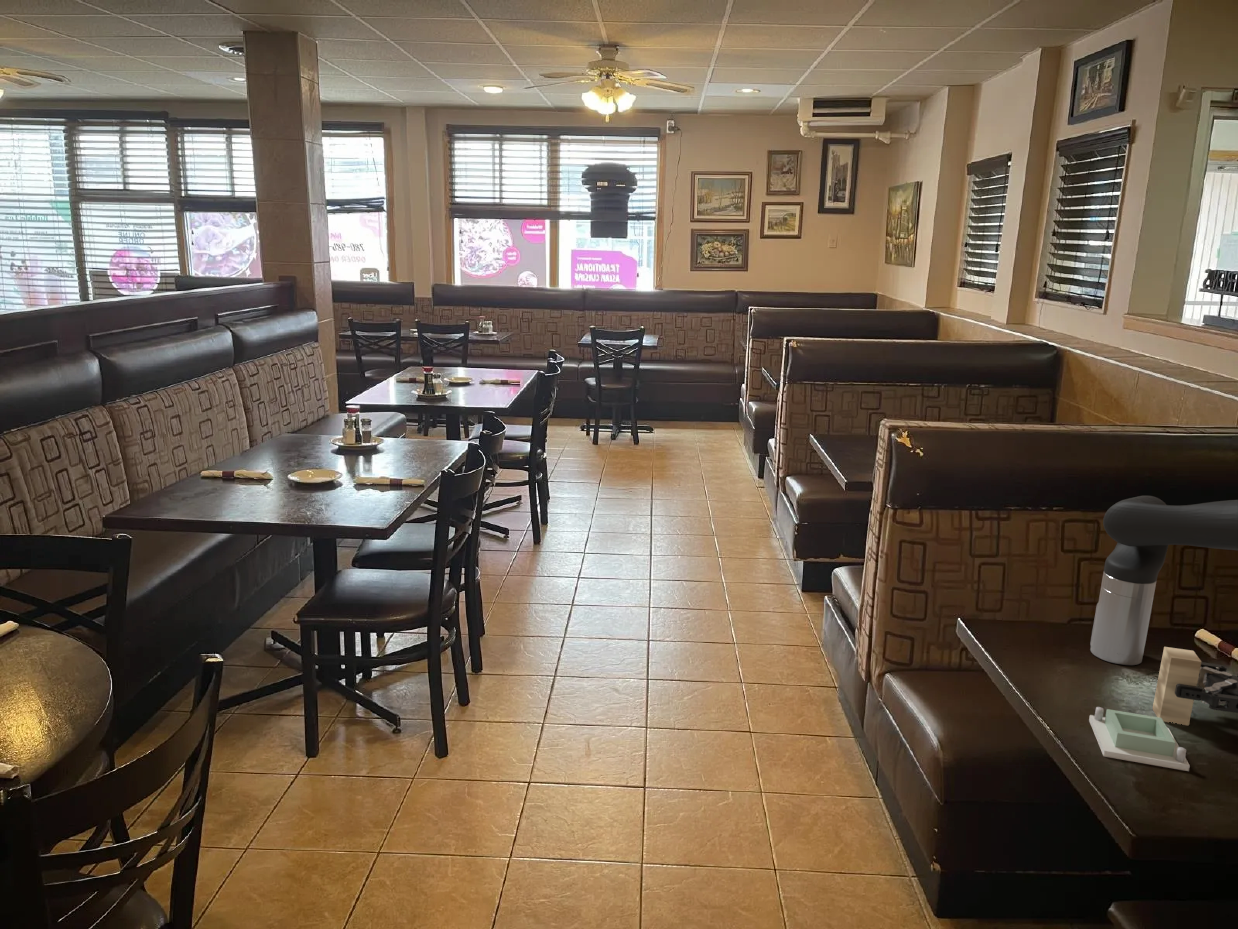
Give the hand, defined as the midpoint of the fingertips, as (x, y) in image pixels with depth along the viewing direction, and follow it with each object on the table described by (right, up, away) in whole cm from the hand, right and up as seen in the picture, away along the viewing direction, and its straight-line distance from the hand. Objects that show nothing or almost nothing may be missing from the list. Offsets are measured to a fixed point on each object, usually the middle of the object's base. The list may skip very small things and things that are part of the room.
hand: (1169, 679), depth 153 cm
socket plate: (-10, -9, -8) cm, 16 cm away
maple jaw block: (+1, -7, +1) cm, 7 cm away
